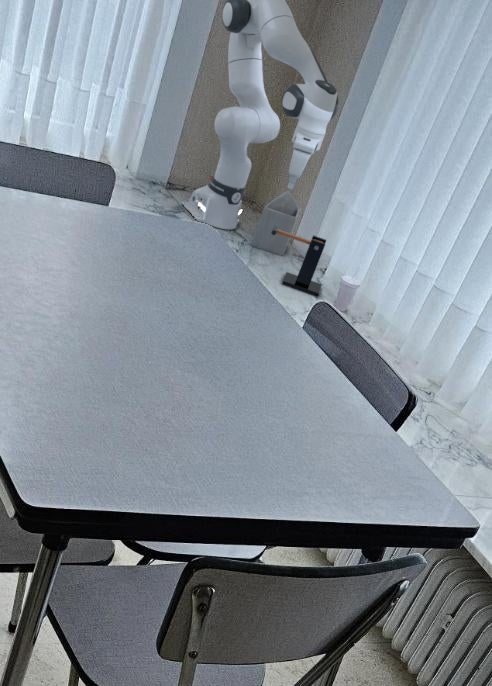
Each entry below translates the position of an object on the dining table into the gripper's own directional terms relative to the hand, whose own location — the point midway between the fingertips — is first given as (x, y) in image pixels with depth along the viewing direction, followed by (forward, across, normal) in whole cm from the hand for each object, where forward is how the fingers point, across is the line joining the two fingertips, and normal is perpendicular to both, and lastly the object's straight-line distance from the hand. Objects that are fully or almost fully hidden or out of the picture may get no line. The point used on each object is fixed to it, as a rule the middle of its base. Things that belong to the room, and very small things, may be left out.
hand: (291, 184), depth 307 cm
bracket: (+29, +1, +14) cm, 32 cm away
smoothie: (+29, +9, +27) cm, 41 cm away
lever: (+16, +1, +7) cm, 17 cm away
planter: (+29, -23, +1) cm, 37 cm away
